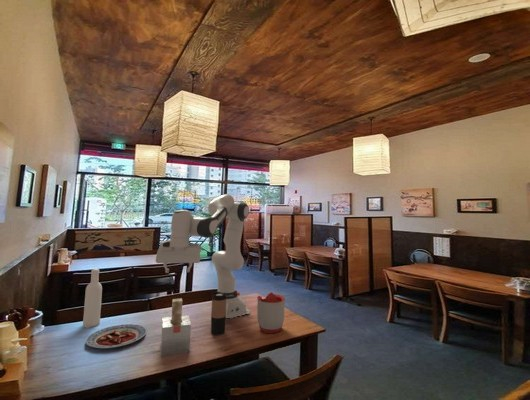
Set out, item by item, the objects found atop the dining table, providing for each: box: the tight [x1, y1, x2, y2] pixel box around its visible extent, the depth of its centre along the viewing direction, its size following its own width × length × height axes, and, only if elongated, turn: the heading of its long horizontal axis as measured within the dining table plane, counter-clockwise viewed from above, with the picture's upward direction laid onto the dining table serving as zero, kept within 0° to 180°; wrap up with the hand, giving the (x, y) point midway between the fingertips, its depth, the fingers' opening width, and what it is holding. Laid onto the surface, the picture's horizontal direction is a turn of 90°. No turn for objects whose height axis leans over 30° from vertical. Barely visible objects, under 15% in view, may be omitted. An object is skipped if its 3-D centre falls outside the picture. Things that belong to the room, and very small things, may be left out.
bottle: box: [82, 268, 103, 329], centre depth 144 cm, size 8×8×30 cm
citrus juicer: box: [256, 291, 286, 334], centre depth 145 cm, size 16×17×20 cm
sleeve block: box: [160, 314, 192, 357], centre depth 121 cm, size 12×13×12 cm
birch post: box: [171, 297, 183, 324], centre depth 121 cm, size 4×4×20 cm
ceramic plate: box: [85, 323, 147, 349], centre depth 128 cm, size 26×26×3 cm
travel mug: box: [210, 291, 227, 336], centre depth 138 cm, size 8×8×20 cm
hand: (177, 272), depth 124 cm, fingers open, 8 cm apart
